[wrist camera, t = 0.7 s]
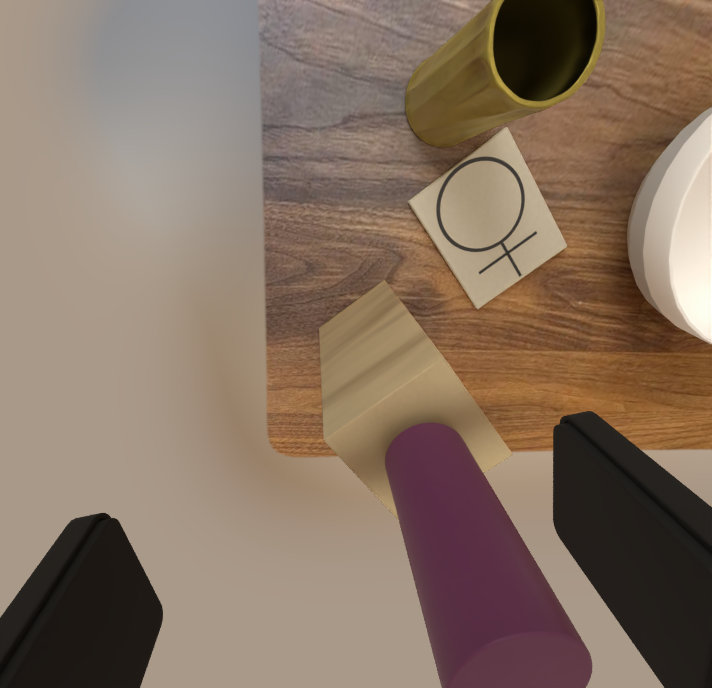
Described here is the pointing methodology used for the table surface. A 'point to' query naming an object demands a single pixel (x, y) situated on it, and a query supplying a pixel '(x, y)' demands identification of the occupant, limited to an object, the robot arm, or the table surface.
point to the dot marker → (477, 573)
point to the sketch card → (489, 219)
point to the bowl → (677, 231)
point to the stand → (391, 389)
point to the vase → (504, 67)
